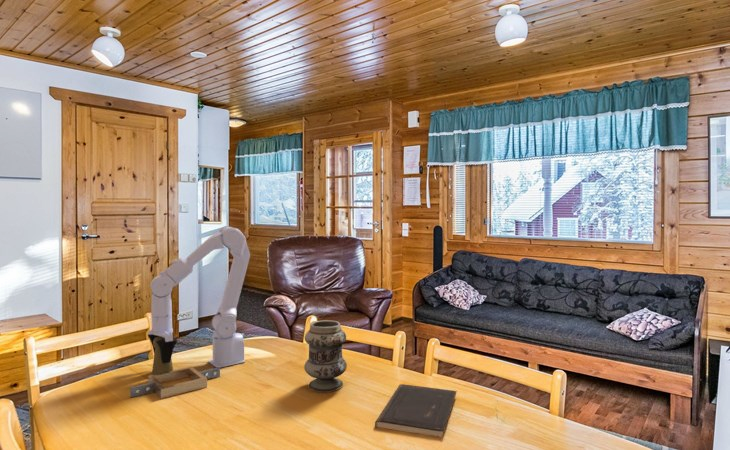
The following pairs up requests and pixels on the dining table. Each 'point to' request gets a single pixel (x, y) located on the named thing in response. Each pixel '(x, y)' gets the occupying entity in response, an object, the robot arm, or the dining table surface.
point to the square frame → (163, 392)
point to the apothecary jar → (325, 355)
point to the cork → (157, 363)
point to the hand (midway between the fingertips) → (162, 359)
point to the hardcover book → (417, 410)
